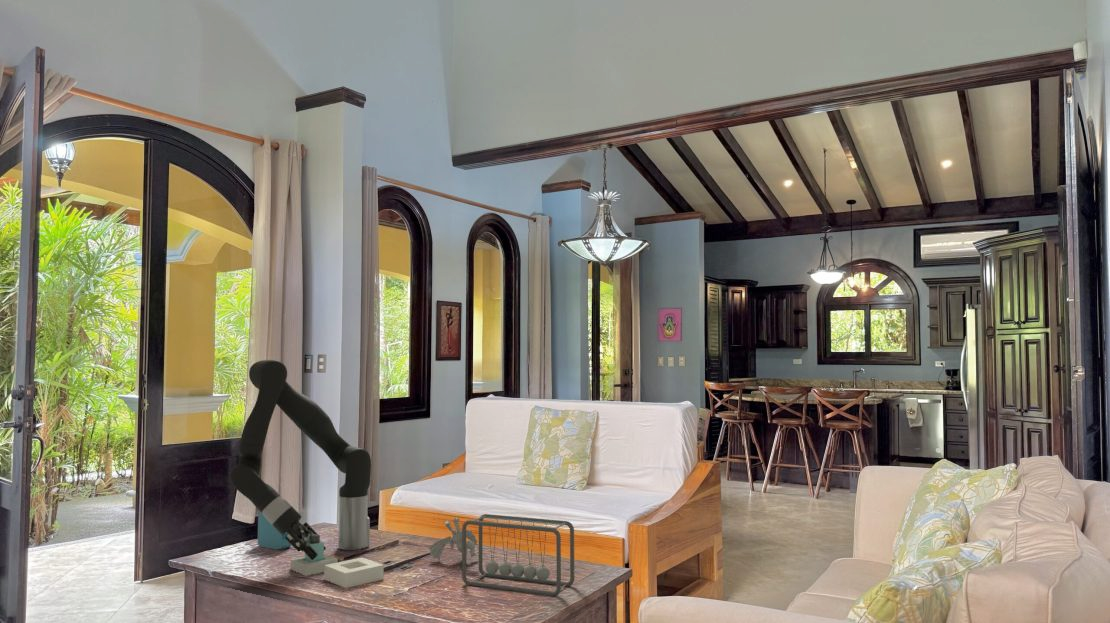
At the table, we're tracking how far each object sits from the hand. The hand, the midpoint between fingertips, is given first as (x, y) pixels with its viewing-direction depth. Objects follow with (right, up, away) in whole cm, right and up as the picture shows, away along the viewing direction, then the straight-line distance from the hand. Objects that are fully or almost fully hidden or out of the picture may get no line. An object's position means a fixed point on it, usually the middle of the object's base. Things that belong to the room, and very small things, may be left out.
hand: (319, 554), depth 227 cm
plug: (-2, -4, 0) cm, 5 cm away
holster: (-2, -4, 0) cm, 5 cm away
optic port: (+13, -4, -11) cm, 18 cm away
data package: (-24, -7, +28) cm, 38 cm away
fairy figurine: (+41, -5, +8) cm, 42 cm away
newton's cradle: (+60, -3, -18) cm, 63 cm away
